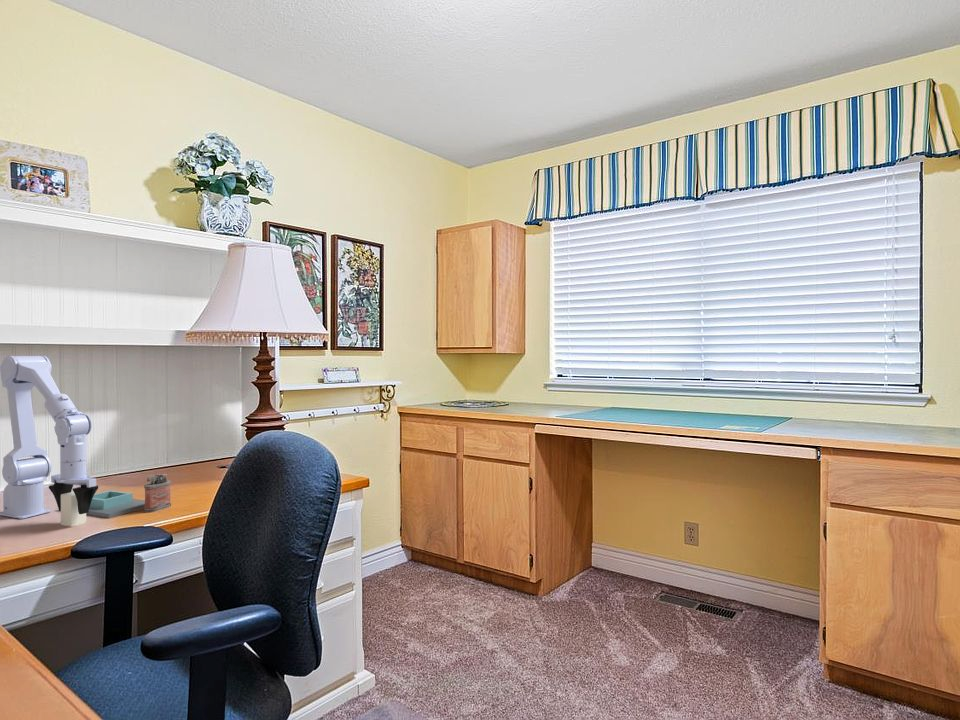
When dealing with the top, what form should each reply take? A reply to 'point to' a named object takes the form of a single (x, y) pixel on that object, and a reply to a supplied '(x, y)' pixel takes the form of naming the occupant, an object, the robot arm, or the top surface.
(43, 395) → the robot arm
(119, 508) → the organizer
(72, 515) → the cream block
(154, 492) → the lighter
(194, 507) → the top surface
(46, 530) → the top surface
